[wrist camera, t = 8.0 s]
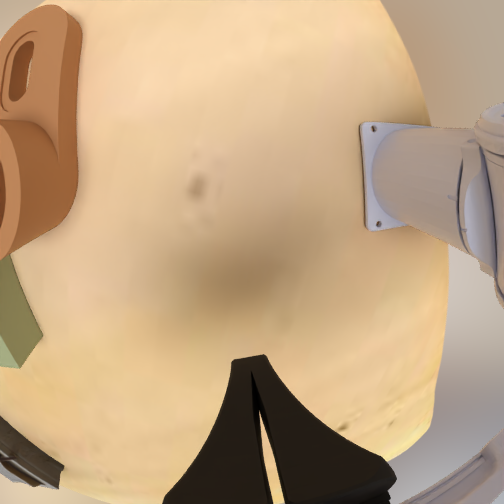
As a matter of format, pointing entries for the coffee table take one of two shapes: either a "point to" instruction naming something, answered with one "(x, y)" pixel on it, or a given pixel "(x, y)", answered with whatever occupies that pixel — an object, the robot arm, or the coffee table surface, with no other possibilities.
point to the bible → (26, 460)
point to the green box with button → (15, 320)
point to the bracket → (38, 124)
